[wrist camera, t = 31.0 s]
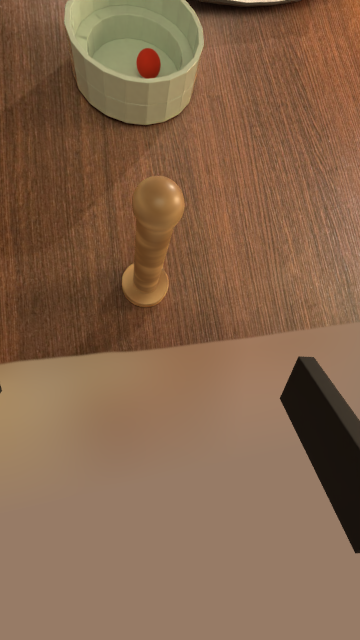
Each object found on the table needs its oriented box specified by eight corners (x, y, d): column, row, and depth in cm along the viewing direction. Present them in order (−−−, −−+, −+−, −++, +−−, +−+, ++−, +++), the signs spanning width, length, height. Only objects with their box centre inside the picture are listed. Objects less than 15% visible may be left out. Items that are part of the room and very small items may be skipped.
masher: (112, 285, 33) (96, 184, 16) (143, 255, 34) (158, 134, 18) (145, 316, 33) (164, 246, 16) (176, 285, 34) (221, 191, 18)
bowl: (48, 78, 37) (33, 21, 31) (122, 13, 41) (121, -48, 35) (149, 150, 37) (153, 107, 32) (213, 78, 41) (227, 29, 36)
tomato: (141, 83, 40) (127, 58, 37) (157, 66, 40) (145, 40, 37) (152, 87, 38) (138, 61, 36) (169, 69, 38) (157, 42, 35)
